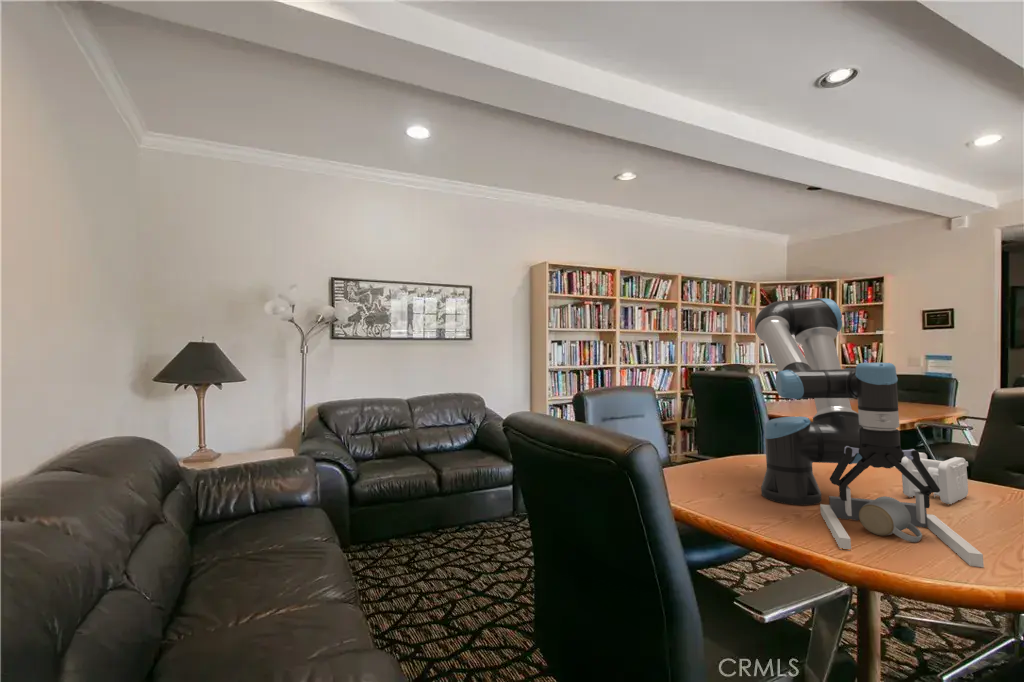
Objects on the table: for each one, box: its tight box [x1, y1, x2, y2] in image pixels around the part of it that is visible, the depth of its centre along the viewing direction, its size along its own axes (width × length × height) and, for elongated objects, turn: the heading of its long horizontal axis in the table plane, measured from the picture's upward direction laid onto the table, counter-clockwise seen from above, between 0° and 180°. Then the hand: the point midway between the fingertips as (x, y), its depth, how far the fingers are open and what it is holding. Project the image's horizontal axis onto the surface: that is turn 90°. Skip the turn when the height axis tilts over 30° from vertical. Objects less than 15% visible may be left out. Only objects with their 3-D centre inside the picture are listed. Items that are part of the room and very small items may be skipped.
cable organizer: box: [900, 451, 969, 505], centre depth 129 cm, size 15×11×12 cm
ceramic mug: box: [859, 496, 923, 543], centre depth 105 cm, size 11×8×8 cm
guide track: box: [819, 495, 985, 568], centre depth 104 cm, size 23×24×5 cm
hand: (883, 517), depth 107 cm, fingers open, 13 cm apart
